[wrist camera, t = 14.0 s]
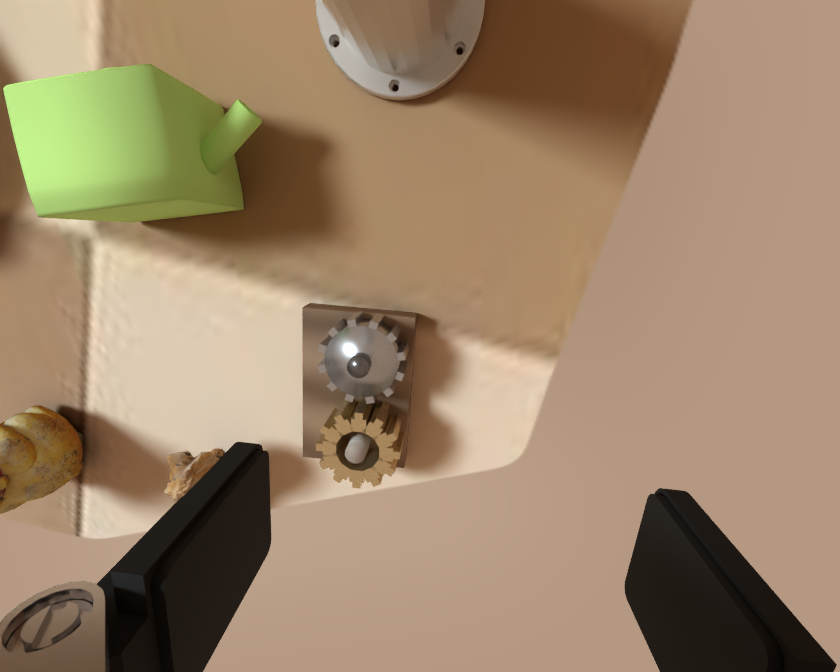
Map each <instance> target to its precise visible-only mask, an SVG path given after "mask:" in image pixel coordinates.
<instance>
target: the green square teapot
mask: <svg viewBox="0 0 840 672" xmlns="http://www.w3.org/2000/svg"><path fill="white" fill-rule="evenodd" d="M3 90H4V95H5V100H6V105H7V109H8V114H9V118H10V123H11V127H12V131H13V136H14V140H15V144H16V148H17V152H18V156H19V159H20V163H21V167H22V171H23V174H24V178H25V182H26V185H27V189H28V192H29V195H30V197H31V200H32V202H33V205H34V208H35V210H36V213H37V215H38V217H43V218H60V219H77V220H95V221H113V222H141V221H151V220H159V219H168V218H177V217H186V216H194V215H203V214H211V213H219V212H228V211H236V210H243V209H244V203H243V194H242V188H241V183H240V177H239V173H238V168H237V163H236V158H235V153H236V151H237V150H238V149H239V148H240V147H241V146H242V145H243V144H244V142H245V141H246V140H247V139H248V138H249V137H250V136H251V135H252V133H253V132H254V131H255V130H256V129H257V128H258V127H259V126H260V124H261V123H262V122H263V121H262V120H261V119H260V118H259V117H258V116H257V115H256V114H255V113H254V112H253V111H252V110H251V109H250V108H249V107H248V106H247V105H246V104H244V103H243V102H242V101H241V100H239V99H237V101H236V102H235V103H234V104H233V106H232V107H231V108H230V109H229V110H228V112H227V113H226V114H225V113H224V109H223V108H222V106H220V105H219V104H217V103H215V102H214V101H212V100H210V99H209V98H207V97H206V96H204V95H202V94H201V93H199V92H197V91H196V90H194V89H193V88H191V87H189V86H188V85H186V84H184V83H183V82H181V81H179V80H177V79H176V78H174V77H172V76H170V75H169V74H167V73H165V72H164V71H162V70H160V69H158V68H157V67H155V66H153V65H152V64H143V65H133V66H125V67H118V68H117V67H112V68H105V69H102V70H96V71H89V72H82V73H75V74H68V75H62V76H56V77H49V78H43V79H37V80H31V81H25V82H20V83H14V84H9V85H6V86H5V87H4V88H3Z"/></svg>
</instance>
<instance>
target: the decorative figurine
mask: <svg viewBox="0 0 840 672" xmlns="http://www.w3.org/2000/svg"><path fill="white" fill-rule="evenodd" d="M83 438H84V436H83V435H82V434H81V433H79V432H77V431H76V430H75V429H74V427H73V426H72V425H71V424H70V423H69V422H68V421H67V420H66V419H65V418H64V417H63V416H61V415H60V414H58V413H56V412H54V411H52V410H50V409H47V408H45V407H43V406H32V407H30V408H29V409H27V410H26V411H25V413H20V414H16V415H14V416H12V417H10V418H9V419H7V420H6V421H5V422H3V423H1V424H0V514H1V513H5V512H7V511H10V510H12V509H15V508H17V507H18V506H20V505H22V504H23V503H25V502H27V501H30V500H35V499H38V498H41V497H44V496H46V495H48V494H51V493H53V492H54V491H56V490H57V489H59V488H60V487H62V486H63V485H65V484H66V483H67V482H68V481H69V480H70V479H71V478H73V477H75V476H77V475H79V474H80V473H81V472H82V471H83V466H84V463H83V462H82V457H83V448H82V447H83V442H82V440H83Z"/></svg>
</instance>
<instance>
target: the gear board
mask: <svg viewBox="0 0 840 672" xmlns="http://www.w3.org/2000/svg"><path fill="white" fill-rule="evenodd" d="M362 311H363V314H364V318H371V319H372V318H373V317H374V316H375V314H376V313H379V314H382V315H384V318H383V321H382V322H384V323H385V324H387V325H388V326H390V327H392V326H394V325H395V324H397V325H398V326H399V327H400V328H401V331H400V333H399V336H398V337H399V340H400V342H401V343H402V342H408V346H409V351H408V354H407V357H406V360H404V361H406V362H408V364H407V367H406V371H405V374H404V377H403V379H402V381H399V380H398V381H397V384H396V387H395V390H394V393H392V394H391V395H390V396H389V397H387V396H386V395H385V394H384V393H383V392H382V393H380V394H378V396H377V398H376V401H375V403H374V408H375V406H376V405H377V404H378V405H381V404H382V402H383V401H384V402H386V403H388V404H389V405H390V406H389V409H388V411H389V413H388V415H390V414H392V416H396V415H398V414H399V416H400V418H401V420H402V422H401V426H400V430H399V432H404V441H403V446H402V451H401V455H400V460H399V459H398V461H397V465H396V467H401V468H404V465H405V460H406V452H407V439H408V426H409V413H410V400H411V386H412V373H413V360H414V347H415V334H416V321H417V313H412V312H401V311H390V310H380V309H369V308H358V307H347V306H336V305H325V304H314V303H309V304H308V305H306V306H304V307H303V457H311V458H320V459H322V457H323V456H324V455H323V451H316V443H317V441H318V439H319V438H320V436H321V434H322V433H321V432H320V430H321V429H322V427H323V425H324V424H325V422H326V421H327V419H328V417H329V416H330V414H331V413H332V411H333V410H334V408H336V409H337V410H339V408H340V406H341V405H342V403H343V401H344V400H345V397H346V394H347V393H345V392H343V391H341V390H340V389H339V388H338V387H337V388H336V389H335V390H334V391H333V392H332V391H331V390H330V389H329V388H328V387H327V385H328V383H329V382H330V381H331V379H330V378H329V376H328V374H327V372H325V373H319V369H318V365H319V363H320V362H321V361H322V360H323V359H324V357H325V354H323V353H320V352H318V349H319V345H320V343H321V342H323V341H324V340H325V339H326V338H327V337H328V336H329V335H330V334H329V333H328V331H329V330H330V329H332V328H333V327H334V326H335V325H336V324H337V323H338V322H339V321H340V320H342V319H344V320H345V321H346V322H347V320H348V319H349V318H350V317H351V316H352V315H353V314H354V313H356V312H362ZM346 325H347V324H346ZM361 399H362V397H355V398H354V400H353V403H355V402H357V404H359V402H360V401H361ZM346 435H347V437H348V439H349V441H350V442H349V444H348V446H347V448H346V450H345V457H346V458H347V460H348V461H350V462H352V463H361V462H362V461H363V460H364V459H365V457H366V454H367V451H368V450H371V449H374V448H376V447H378V445H377V443H376V442H375V440H374V439H373V438H372V437H370V436H369V435H367V434H365V433H362V432H353V431H352V432H350V433H348V434H346Z"/></svg>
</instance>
